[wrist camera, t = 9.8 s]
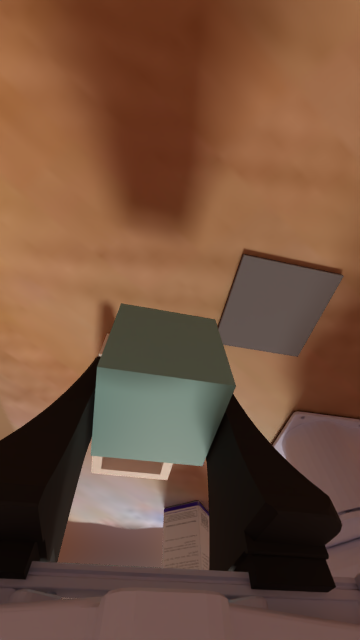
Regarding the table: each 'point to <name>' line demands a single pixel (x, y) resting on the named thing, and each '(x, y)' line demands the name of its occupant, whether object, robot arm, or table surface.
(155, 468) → the frame
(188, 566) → the supplement box
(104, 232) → the table surface
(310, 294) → the mat
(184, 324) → the block
